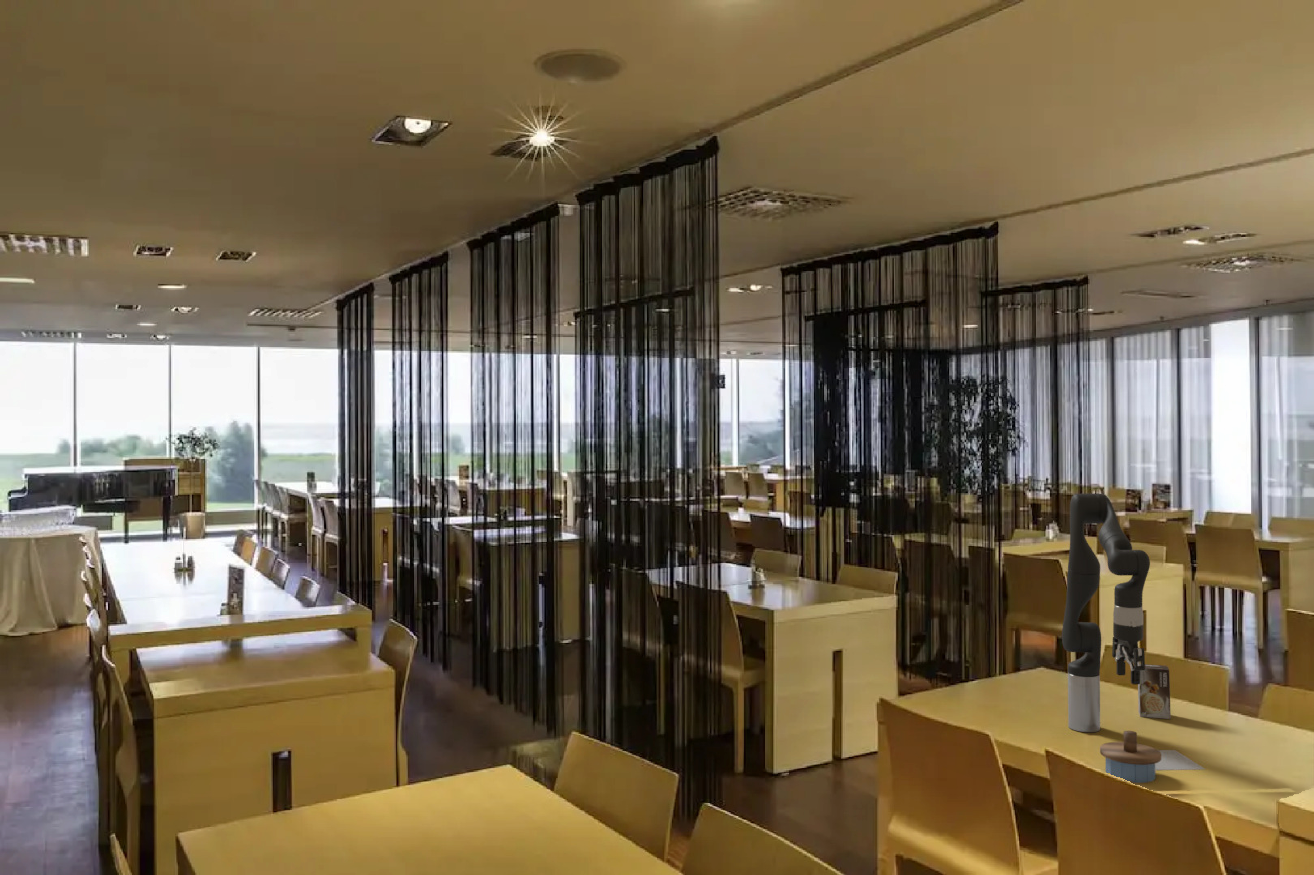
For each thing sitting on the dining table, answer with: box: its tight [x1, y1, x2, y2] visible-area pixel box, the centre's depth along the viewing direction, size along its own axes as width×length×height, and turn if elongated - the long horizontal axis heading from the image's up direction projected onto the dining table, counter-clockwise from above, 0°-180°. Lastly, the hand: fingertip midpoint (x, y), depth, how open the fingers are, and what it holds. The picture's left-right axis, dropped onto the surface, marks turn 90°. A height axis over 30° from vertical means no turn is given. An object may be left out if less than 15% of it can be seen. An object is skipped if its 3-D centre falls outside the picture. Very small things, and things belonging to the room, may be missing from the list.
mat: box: [1155, 749, 1205, 771], centre depth 280 cm, size 16×16×1 cm
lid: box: [1099, 730, 1161, 765], centre depth 269 cm, size 15×15×6 cm
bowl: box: [1105, 757, 1157, 784], centre depth 269 cm, size 12×12×6 cm
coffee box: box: [1137, 663, 1172, 720], centre depth 324 cm, size 9×6×16 cm
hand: (1128, 679), depth 276 cm, fingers open, 8 cm apart
